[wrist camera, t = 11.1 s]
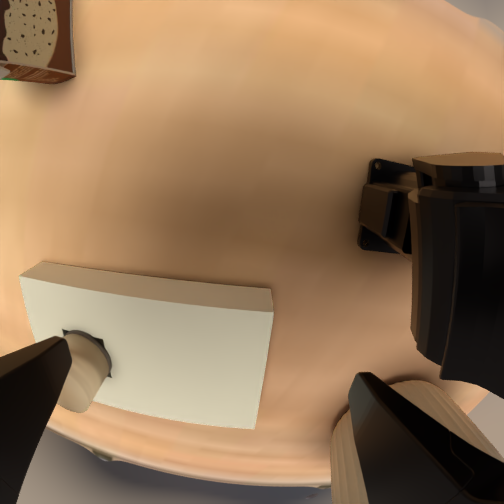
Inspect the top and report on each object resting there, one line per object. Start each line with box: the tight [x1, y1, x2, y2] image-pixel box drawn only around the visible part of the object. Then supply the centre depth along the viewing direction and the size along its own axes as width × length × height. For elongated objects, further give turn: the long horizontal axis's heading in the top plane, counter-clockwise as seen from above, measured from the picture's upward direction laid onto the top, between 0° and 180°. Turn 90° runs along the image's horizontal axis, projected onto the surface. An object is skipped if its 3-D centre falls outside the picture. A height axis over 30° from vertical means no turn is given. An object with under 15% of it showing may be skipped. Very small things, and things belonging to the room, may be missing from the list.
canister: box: [330, 380, 504, 504], centre depth 16 cm, size 18×18×21 cm
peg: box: [57, 330, 112, 413], centre depth 18 cm, size 5×5×7 cm
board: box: [19, 261, 274, 429], centre depth 21 cm, size 20×12×4 cm, turn 85°
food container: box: [0, 0, 76, 84], centre depth 10 cm, size 12×6×10 cm, turn 14°
